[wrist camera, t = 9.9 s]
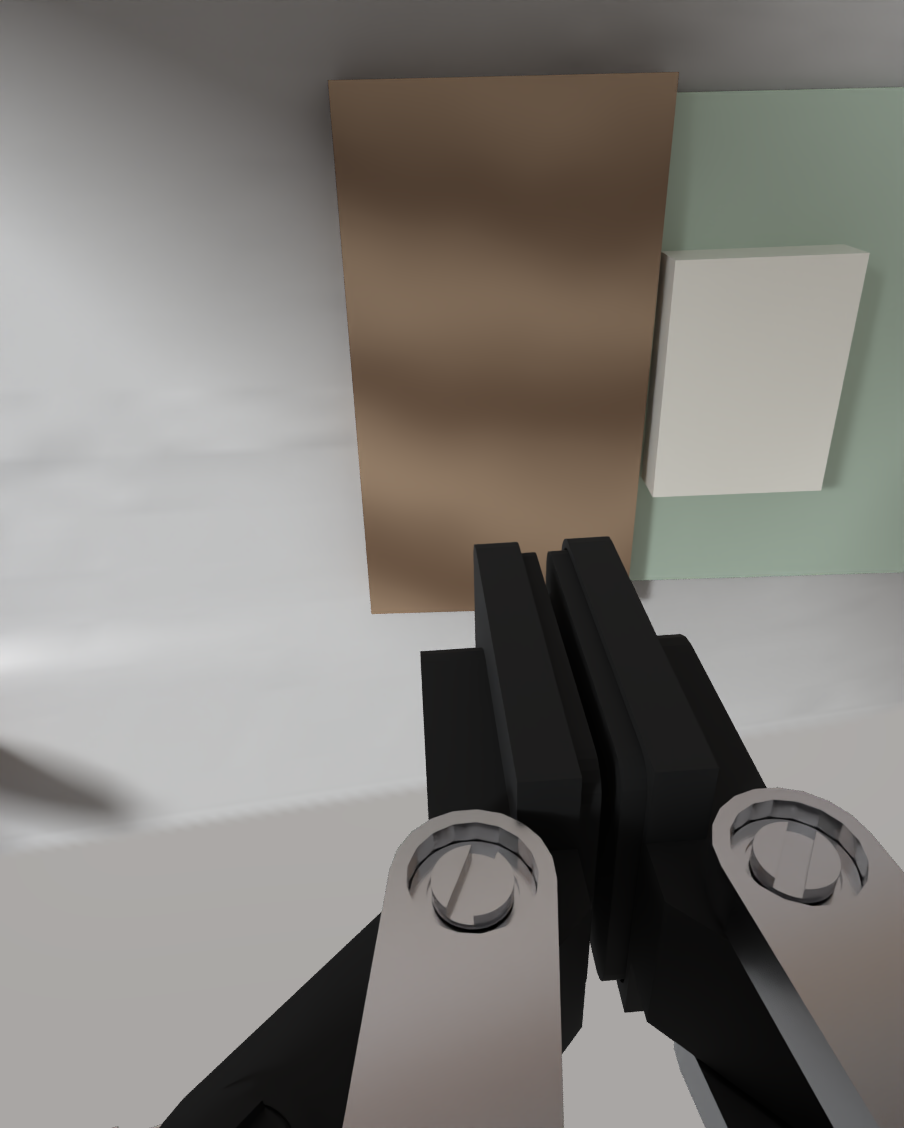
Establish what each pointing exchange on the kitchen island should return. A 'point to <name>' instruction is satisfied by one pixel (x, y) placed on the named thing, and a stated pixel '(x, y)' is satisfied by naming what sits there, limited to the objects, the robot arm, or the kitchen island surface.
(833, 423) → the tile
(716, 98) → the mat
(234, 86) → the kitchen island surface
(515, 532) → the riser
